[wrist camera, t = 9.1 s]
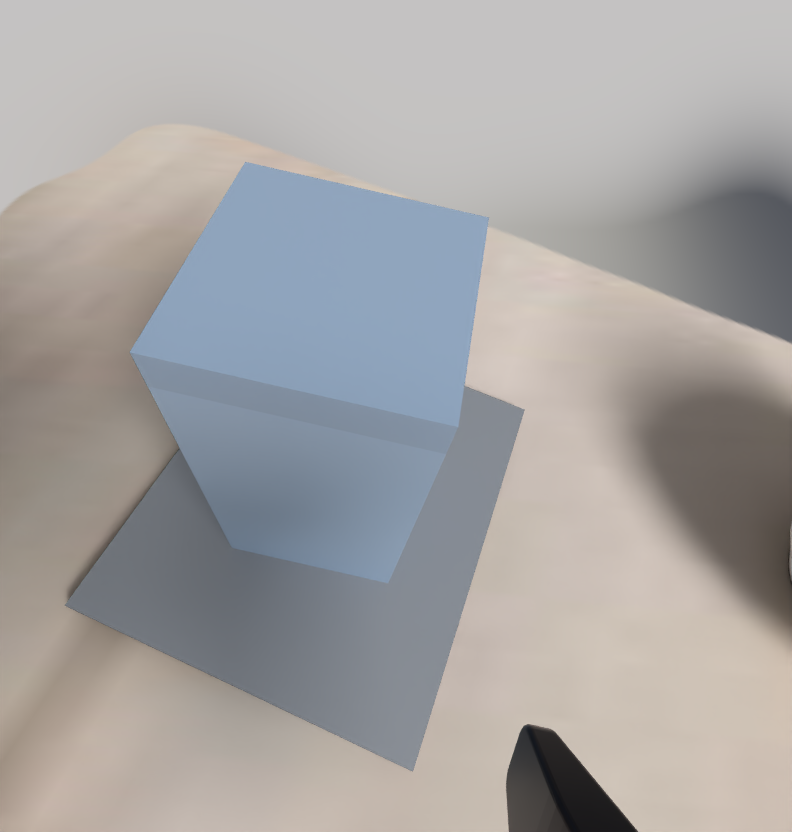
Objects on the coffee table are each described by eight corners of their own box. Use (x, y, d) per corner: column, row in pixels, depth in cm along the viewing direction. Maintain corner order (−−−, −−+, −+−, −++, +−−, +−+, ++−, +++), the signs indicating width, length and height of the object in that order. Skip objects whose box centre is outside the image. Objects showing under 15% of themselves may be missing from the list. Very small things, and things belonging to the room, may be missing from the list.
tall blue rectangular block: (387, 583, 18) (458, 427, 8) (231, 547, 18) (129, 352, 8) (422, 405, 22) (496, 166, 12) (295, 376, 22) (273, 115, 12)
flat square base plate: (410, 770, 16) (438, 785, 12) (71, 608, 17) (-5, 574, 13) (520, 415, 23) (560, 353, 19) (279, 320, 24) (270, 243, 20)
